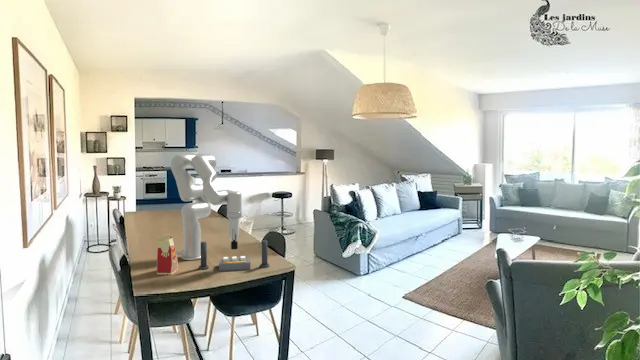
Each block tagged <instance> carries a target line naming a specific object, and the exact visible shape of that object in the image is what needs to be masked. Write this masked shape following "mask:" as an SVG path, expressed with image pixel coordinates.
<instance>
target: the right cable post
mask: <svg viewBox="0 0 640 360" xmlns="http://www.w3.org/2000/svg"><path fill="white" fill-rule="evenodd" d="M269 267H270V263H268V240H265V239H263V240H261V263H260V264H259V268H263V269H266V268H269Z"/></svg>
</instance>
